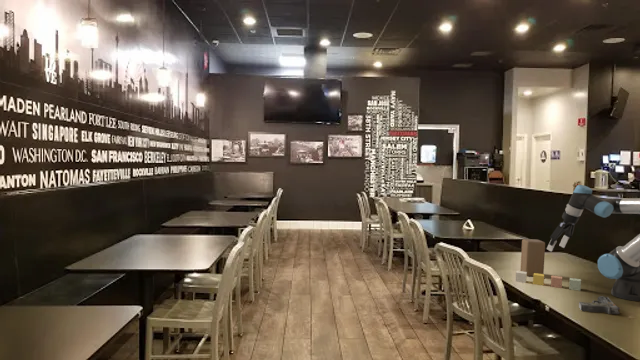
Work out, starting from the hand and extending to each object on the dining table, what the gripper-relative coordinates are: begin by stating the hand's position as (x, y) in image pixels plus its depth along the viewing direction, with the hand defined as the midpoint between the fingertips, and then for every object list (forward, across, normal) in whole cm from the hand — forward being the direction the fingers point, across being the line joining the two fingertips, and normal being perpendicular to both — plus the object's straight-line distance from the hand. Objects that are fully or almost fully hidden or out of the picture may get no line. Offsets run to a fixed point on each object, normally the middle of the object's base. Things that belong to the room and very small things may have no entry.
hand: (555, 248), depth 243 cm
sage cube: (+13, +2, +18) cm, 22 cm away
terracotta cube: (+16, +6, +10) cm, 20 cm away
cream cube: (+22, +13, -4) cm, 25 cm away
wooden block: (+25, -8, -8) cm, 27 cm away
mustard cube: (+19, +9, +3) cm, 21 cm away
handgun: (+5, +26, +36) cm, 44 cm away
